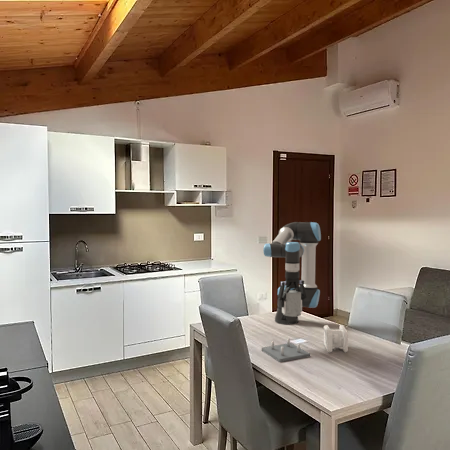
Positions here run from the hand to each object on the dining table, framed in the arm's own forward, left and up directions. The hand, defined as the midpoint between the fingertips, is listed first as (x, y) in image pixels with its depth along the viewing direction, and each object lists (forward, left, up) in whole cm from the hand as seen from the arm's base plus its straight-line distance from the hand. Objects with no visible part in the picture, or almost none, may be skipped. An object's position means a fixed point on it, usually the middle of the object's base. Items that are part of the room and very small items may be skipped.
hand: (292, 312), depth 233 cm
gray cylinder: (0, 0, -1) cm, 1 cm away
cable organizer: (+14, +18, -19) cm, 30 cm away
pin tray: (+8, -9, -19) cm, 22 cm away
